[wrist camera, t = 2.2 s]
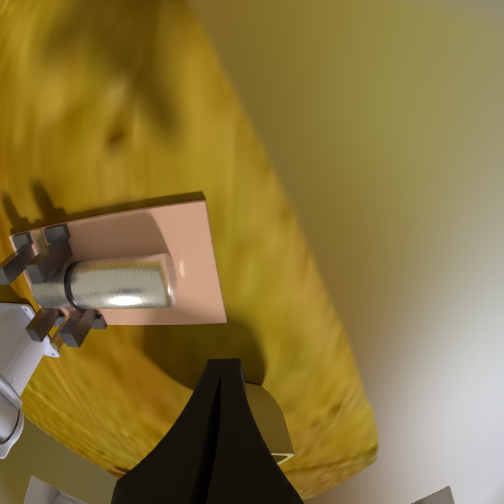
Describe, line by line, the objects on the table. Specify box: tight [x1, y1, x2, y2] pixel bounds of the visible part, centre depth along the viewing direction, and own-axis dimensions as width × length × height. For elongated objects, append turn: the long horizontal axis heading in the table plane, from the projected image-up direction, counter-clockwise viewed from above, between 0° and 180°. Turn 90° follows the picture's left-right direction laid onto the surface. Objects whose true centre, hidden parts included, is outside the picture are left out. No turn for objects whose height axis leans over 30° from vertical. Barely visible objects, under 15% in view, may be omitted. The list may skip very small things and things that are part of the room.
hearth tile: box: [9, 199, 227, 325], centre depth 20 cm, size 20×10×1 cm, turn 95°
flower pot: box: [246, 383, 294, 464], centre depth 23 cm, size 9×9×9 cm
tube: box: [31, 253, 177, 309], centre depth 18 cm, size 12×4×4 cm, turn 95°
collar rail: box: [0, 223, 107, 350], centre depth 18 cm, size 7×10×4 cm
